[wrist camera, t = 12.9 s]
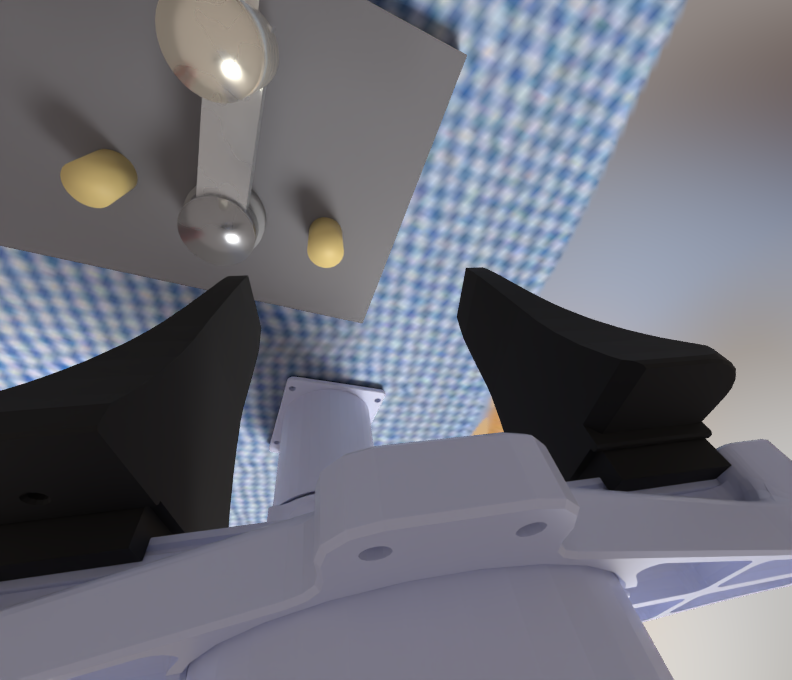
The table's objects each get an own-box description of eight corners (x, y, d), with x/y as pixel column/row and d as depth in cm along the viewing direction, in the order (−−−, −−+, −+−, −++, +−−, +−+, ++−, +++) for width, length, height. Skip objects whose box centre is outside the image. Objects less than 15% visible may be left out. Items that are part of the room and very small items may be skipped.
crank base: (361, 314, 24) (365, 345, 22) (4, 235, 18) (-49, 265, 15) (460, 54, 16) (485, 55, 13) (-138, -271, 10) (-305, -388, 7)
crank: (253, 261, 18) (236, 312, 15) (184, 243, 17) (147, 293, 14) (293, 26, 13) (280, 15, 9) (196, -22, 12) (140, -56, 8)
